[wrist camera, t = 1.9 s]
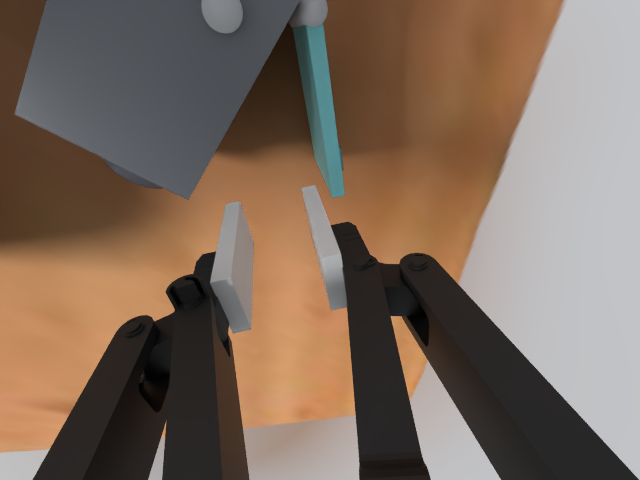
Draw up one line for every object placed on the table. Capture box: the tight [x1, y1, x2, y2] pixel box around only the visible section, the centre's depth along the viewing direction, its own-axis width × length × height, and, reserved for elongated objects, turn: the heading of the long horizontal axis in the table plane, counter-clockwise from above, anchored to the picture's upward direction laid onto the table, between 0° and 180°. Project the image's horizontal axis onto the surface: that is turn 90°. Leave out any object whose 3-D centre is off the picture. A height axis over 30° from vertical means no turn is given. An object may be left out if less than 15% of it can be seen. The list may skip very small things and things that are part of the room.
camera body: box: [15, 0, 300, 200], centre depth 22 cm, size 10×16×12 cm, turn 144°
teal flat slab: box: [288, 0, 345, 198], centre depth 26 cm, size 2×13×10 cm, turn 9°
